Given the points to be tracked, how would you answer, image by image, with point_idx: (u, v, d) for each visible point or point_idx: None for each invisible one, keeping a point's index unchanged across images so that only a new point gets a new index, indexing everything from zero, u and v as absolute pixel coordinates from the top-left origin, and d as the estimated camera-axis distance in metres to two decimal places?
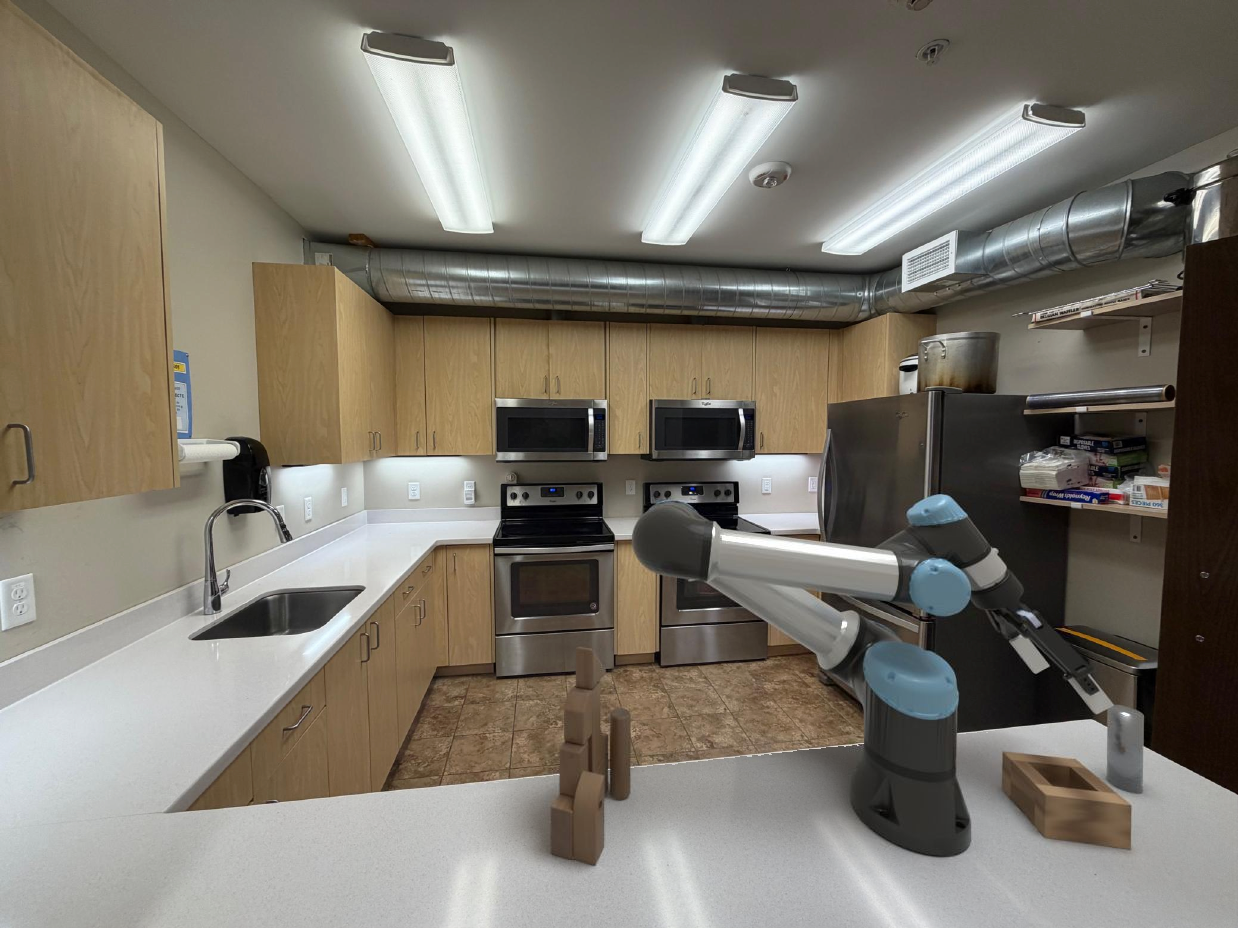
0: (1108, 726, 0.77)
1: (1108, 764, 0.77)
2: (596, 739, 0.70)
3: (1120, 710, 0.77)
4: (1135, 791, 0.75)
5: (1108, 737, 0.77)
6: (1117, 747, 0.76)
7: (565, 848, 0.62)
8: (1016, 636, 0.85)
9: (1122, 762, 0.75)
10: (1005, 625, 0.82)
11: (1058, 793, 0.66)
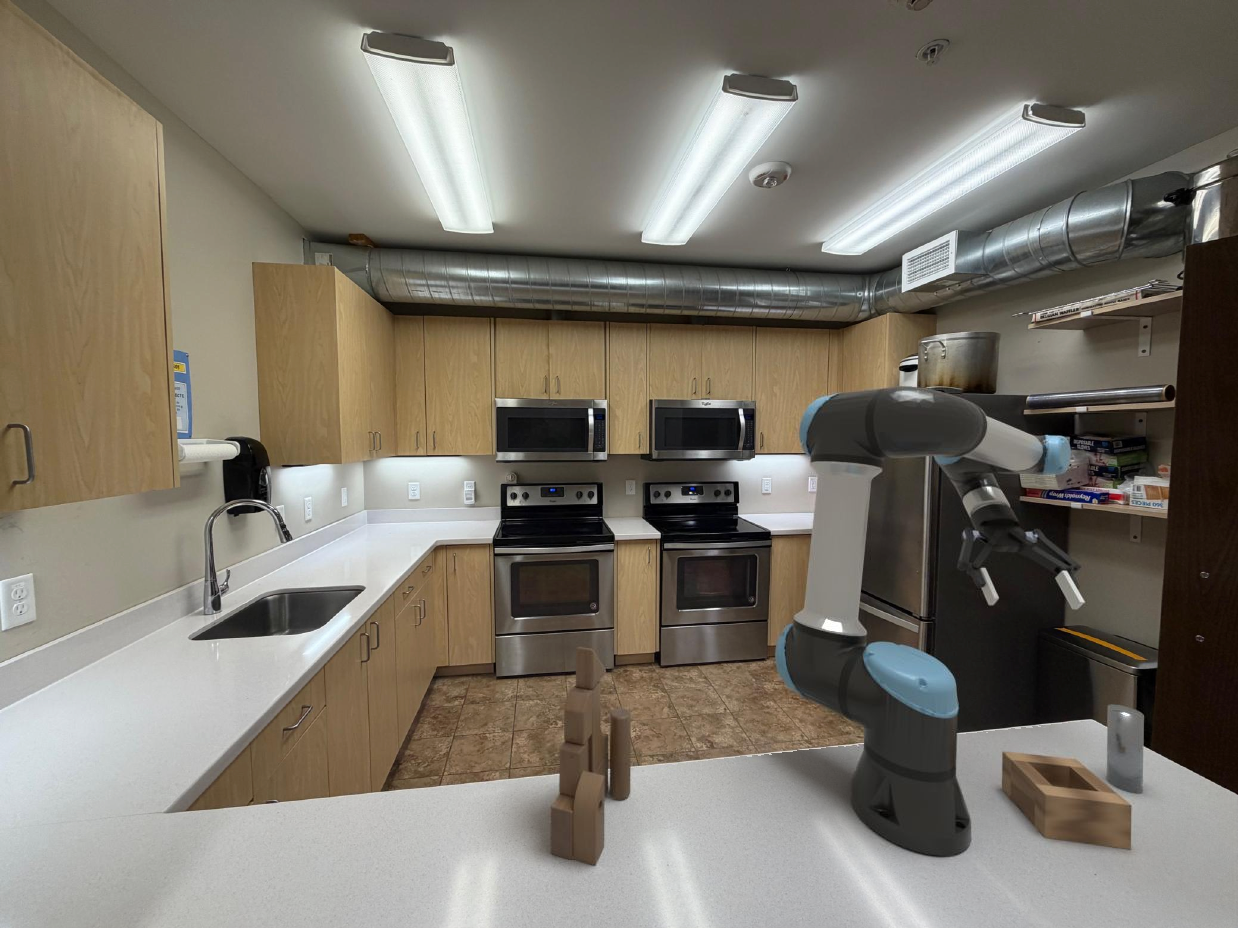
0: (1108, 726, 0.77)
1: (1108, 764, 0.77)
2: (596, 739, 0.70)
3: (1120, 710, 0.77)
4: (1135, 791, 0.75)
5: (1108, 737, 0.77)
6: (1117, 747, 0.76)
7: (565, 848, 0.62)
8: None
9: (1122, 762, 0.75)
10: (991, 549, 0.96)
11: (1058, 793, 0.66)
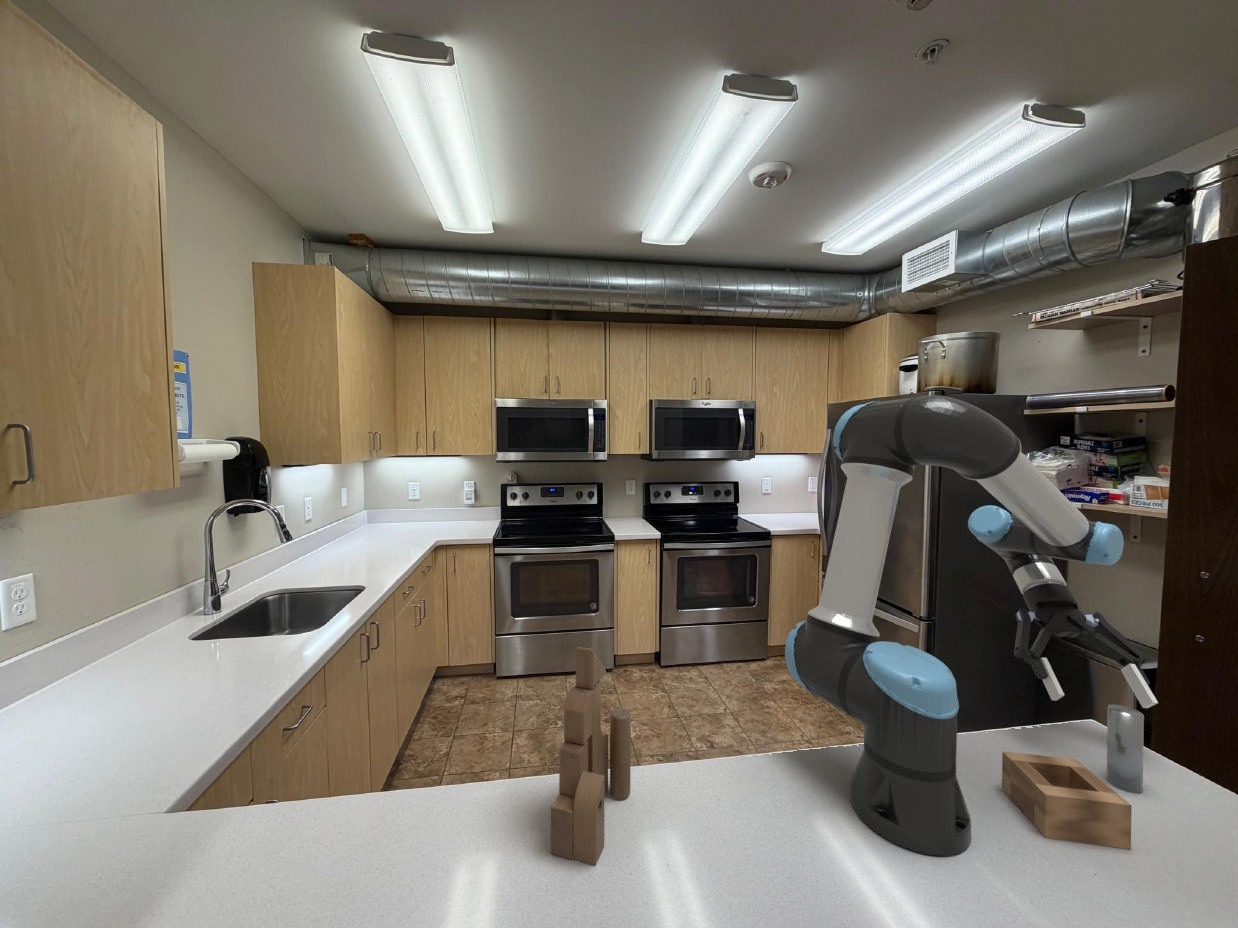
0: (1108, 726, 0.77)
1: (1108, 764, 0.77)
2: (596, 739, 0.70)
3: (1120, 710, 0.77)
4: (1135, 791, 0.75)
5: (1108, 737, 0.77)
6: (1117, 747, 0.76)
7: (565, 848, 0.62)
8: None
9: (1122, 762, 0.75)
10: (1050, 635, 0.90)
11: (1058, 793, 0.66)
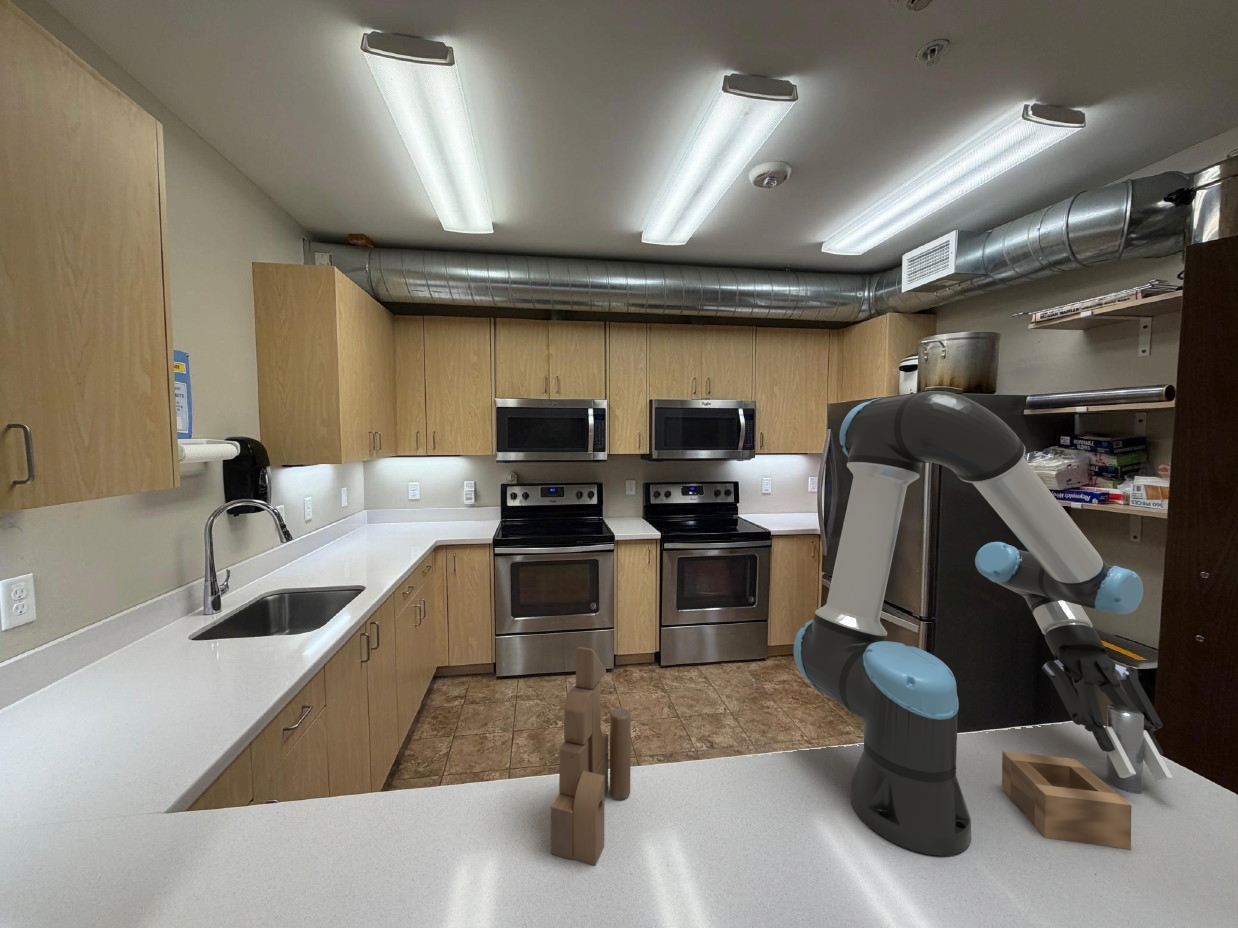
0: (1108, 726, 0.77)
1: (1108, 764, 0.77)
2: (596, 739, 0.70)
3: (1120, 710, 0.77)
4: (1135, 791, 0.75)
5: None
6: None
7: (565, 848, 0.62)
8: None
9: None
10: (1092, 688, 0.81)
11: (1058, 793, 0.66)
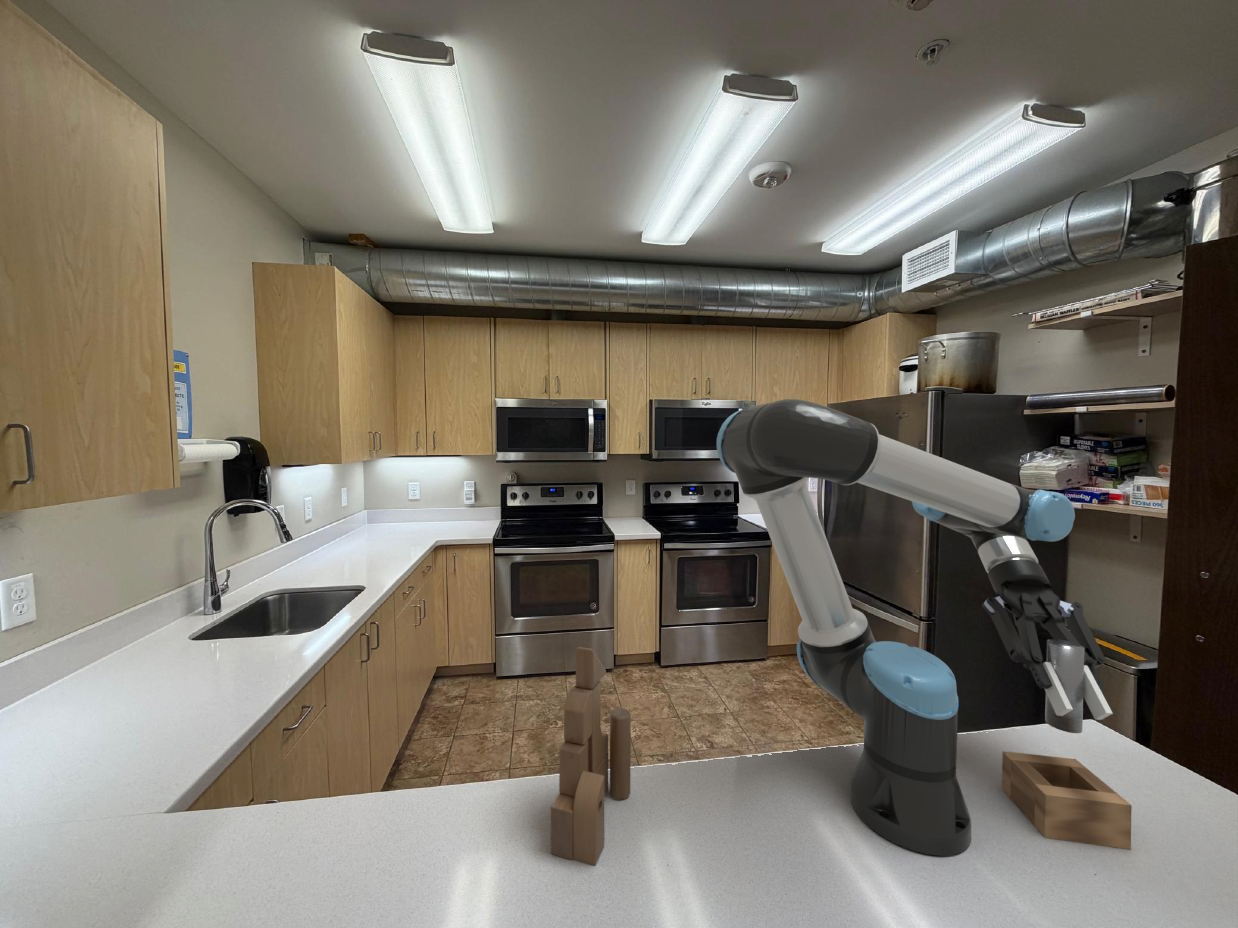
0: None
1: (1046, 703, 0.70)
2: (596, 739, 0.70)
3: (1060, 643, 0.70)
4: (1074, 731, 0.68)
5: None
6: None
7: (565, 848, 0.62)
8: None
9: None
10: (1033, 624, 0.74)
11: (1058, 793, 0.66)
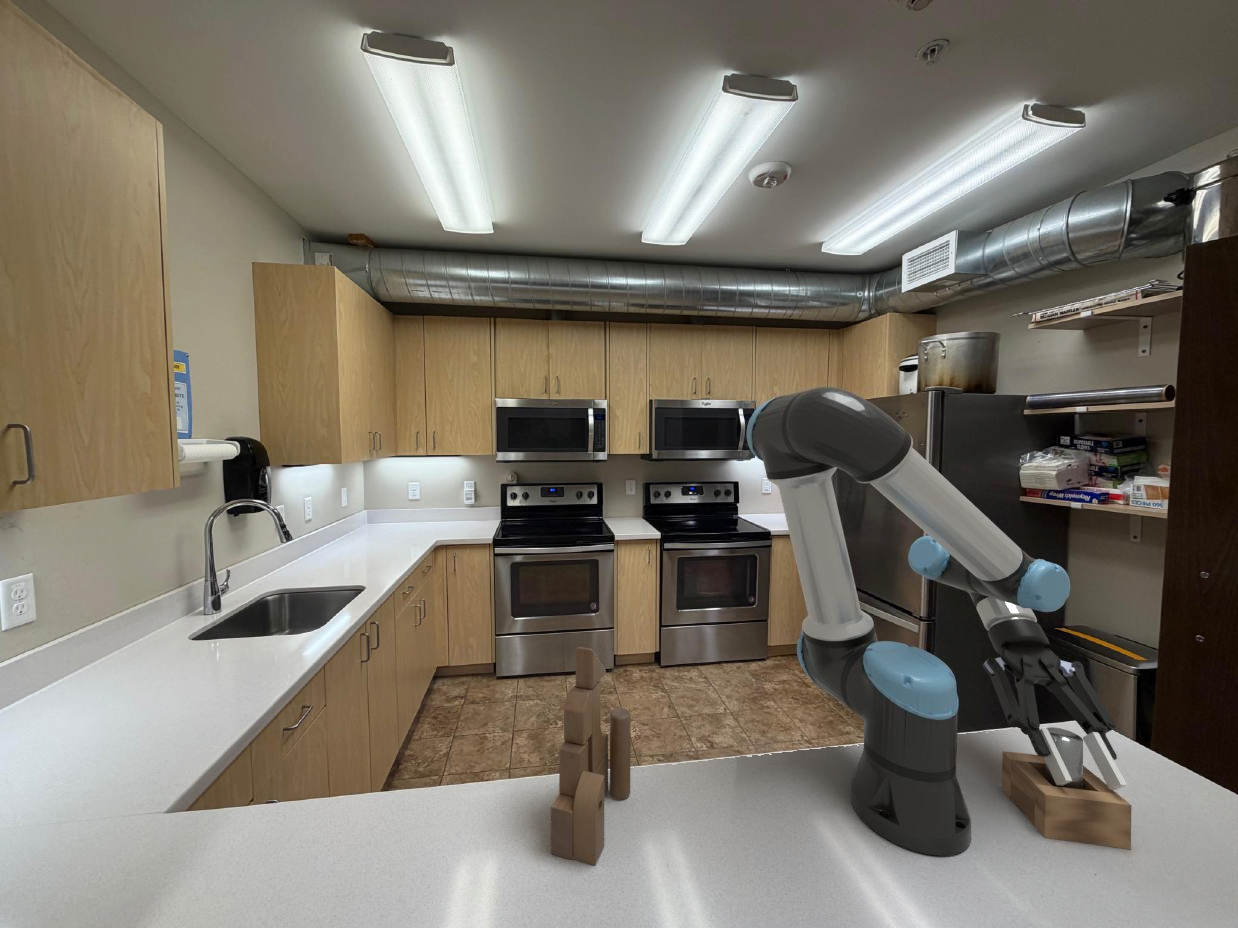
0: None
1: None
2: (596, 739, 0.70)
3: (1058, 734, 0.70)
4: None
5: (1046, 764, 0.71)
6: None
7: (565, 848, 0.62)
8: None
9: None
10: (1033, 688, 0.74)
11: (1058, 793, 0.66)
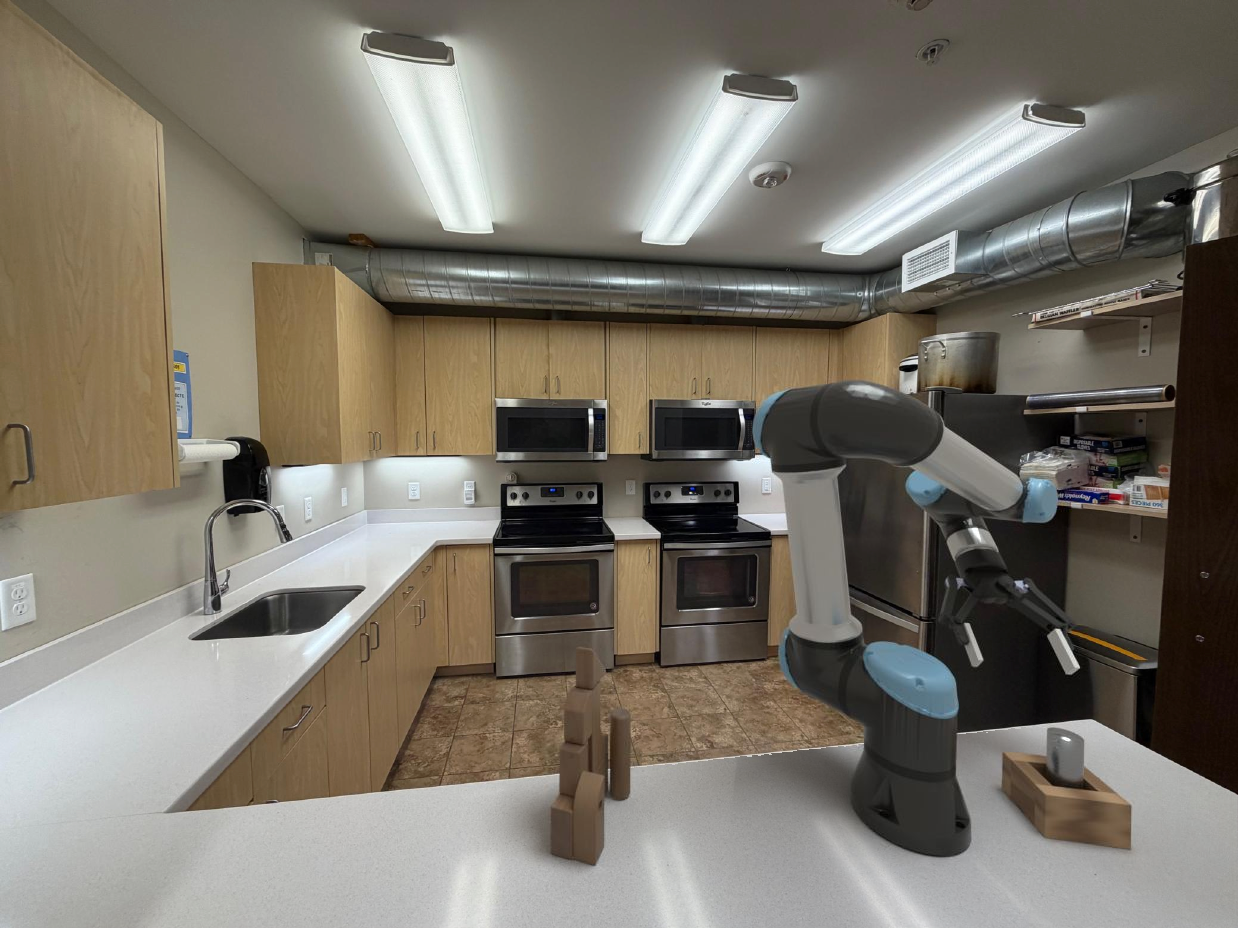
0: (1047, 751, 0.71)
1: None
2: (596, 739, 0.70)
3: (1059, 734, 0.70)
4: None
5: (1047, 764, 0.71)
6: (1055, 775, 0.69)
7: (565, 848, 0.62)
8: None
9: None
10: (976, 601, 0.86)
11: (1058, 793, 0.66)
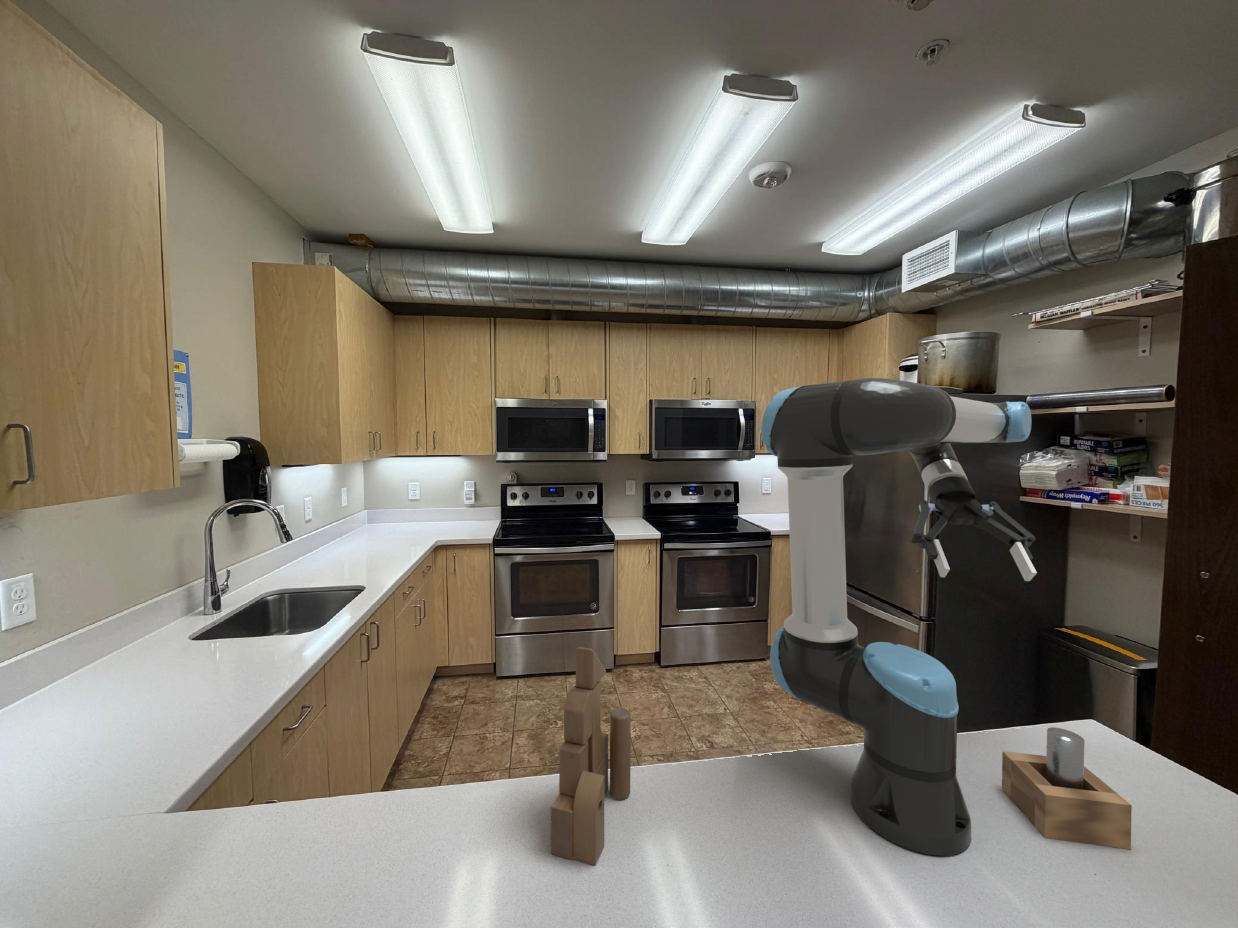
0: (1047, 751, 0.71)
1: None
2: (596, 739, 0.70)
3: (1060, 734, 0.70)
4: None
5: (1047, 764, 0.71)
6: (1055, 775, 0.69)
7: (565, 848, 0.62)
8: None
9: None
10: (946, 521, 0.93)
11: (1058, 793, 0.66)
